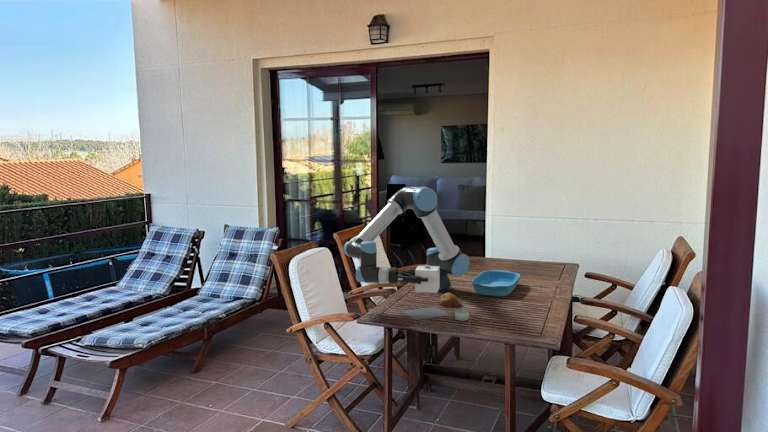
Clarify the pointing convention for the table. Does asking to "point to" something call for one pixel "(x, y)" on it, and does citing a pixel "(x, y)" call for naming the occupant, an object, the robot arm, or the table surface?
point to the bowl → (461, 314)
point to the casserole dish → (495, 282)
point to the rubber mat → (425, 313)
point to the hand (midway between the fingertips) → (436, 277)
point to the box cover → (428, 271)
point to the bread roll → (448, 300)
